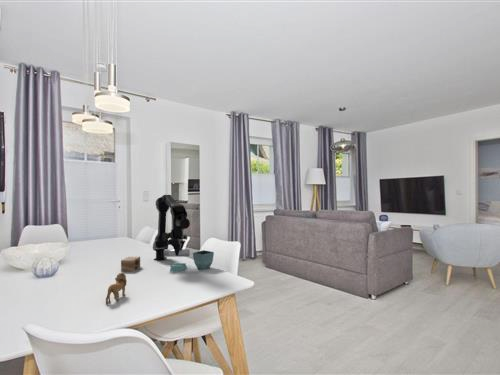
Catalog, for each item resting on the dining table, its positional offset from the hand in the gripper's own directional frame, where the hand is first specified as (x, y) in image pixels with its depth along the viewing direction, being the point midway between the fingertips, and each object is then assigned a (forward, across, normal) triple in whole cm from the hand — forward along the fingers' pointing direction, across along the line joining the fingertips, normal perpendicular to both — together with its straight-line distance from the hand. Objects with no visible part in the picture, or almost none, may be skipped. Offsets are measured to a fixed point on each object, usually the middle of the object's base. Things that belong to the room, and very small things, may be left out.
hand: (178, 254), depth 164 cm
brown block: (+8, 0, -27) cm, 29 cm away
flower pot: (+8, -2, +14) cm, 16 cm away
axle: (+1, 0, -1) cm, 1 cm away
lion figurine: (+8, +45, -13) cm, 47 cm away
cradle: (+8, 0, 0) cm, 8 cm away
